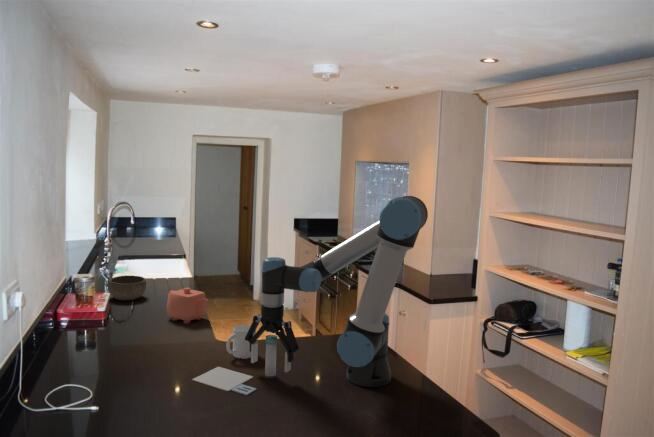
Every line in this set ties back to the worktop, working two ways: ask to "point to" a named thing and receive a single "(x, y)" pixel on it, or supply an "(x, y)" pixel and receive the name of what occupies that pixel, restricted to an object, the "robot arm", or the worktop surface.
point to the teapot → (186, 305)
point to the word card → (243, 389)
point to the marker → (270, 356)
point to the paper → (222, 378)
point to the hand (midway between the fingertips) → (270, 366)
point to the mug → (239, 342)
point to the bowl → (127, 287)
